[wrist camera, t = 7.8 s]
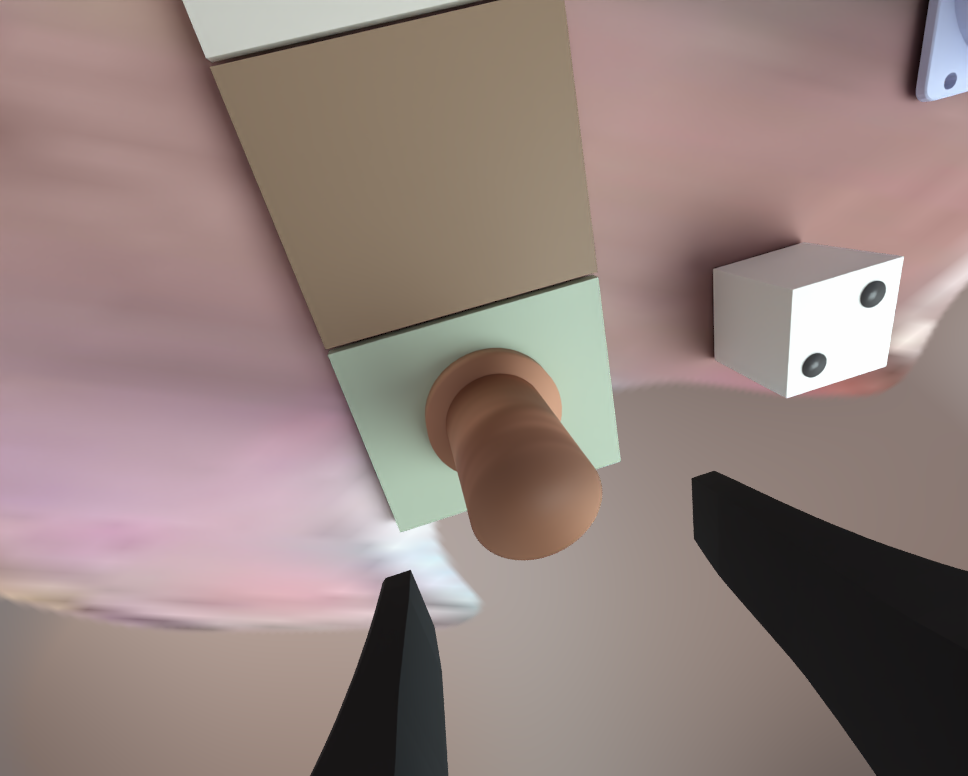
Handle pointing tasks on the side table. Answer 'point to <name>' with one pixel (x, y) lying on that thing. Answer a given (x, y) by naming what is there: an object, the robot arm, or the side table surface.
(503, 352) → the pawn
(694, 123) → the side table surface
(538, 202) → the board
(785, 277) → the die
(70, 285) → the side table surface
